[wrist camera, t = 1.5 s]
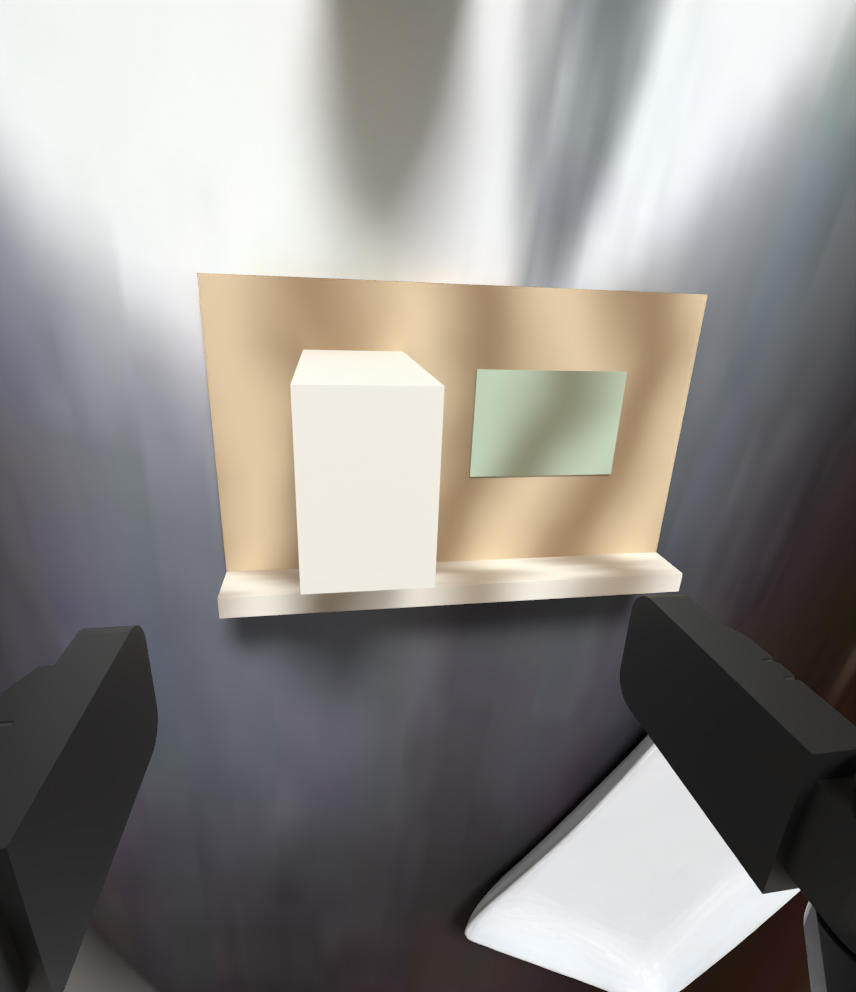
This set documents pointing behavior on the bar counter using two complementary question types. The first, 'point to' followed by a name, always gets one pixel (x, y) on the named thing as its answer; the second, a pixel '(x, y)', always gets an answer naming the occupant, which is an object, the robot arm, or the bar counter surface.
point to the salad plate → (627, 888)
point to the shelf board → (463, 431)
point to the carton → (366, 470)
